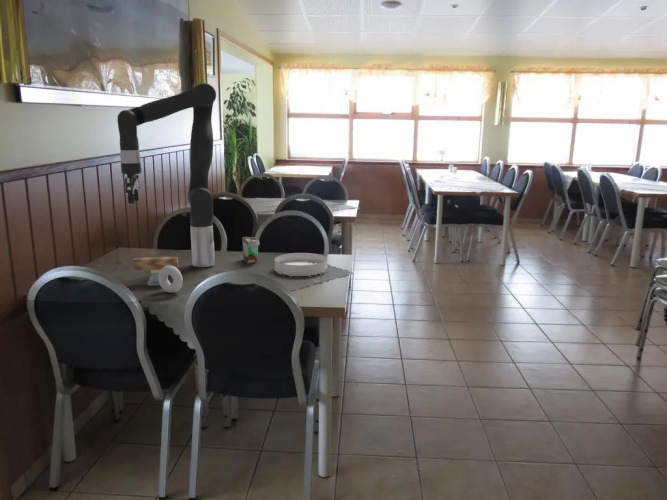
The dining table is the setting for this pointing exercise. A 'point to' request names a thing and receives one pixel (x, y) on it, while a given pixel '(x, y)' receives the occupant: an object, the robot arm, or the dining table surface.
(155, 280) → the ridge block
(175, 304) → the dining table surface
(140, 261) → the walnut bar
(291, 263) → the dish
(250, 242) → the food container
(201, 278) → the dining table surface
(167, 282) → the donut
